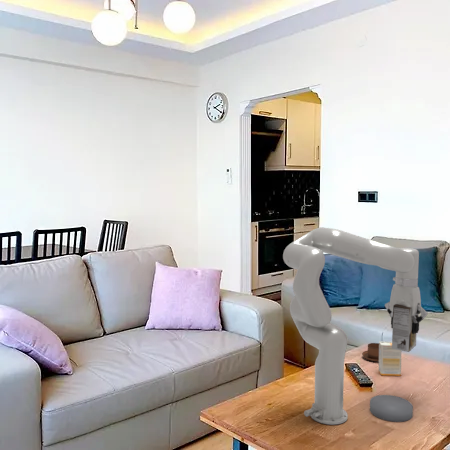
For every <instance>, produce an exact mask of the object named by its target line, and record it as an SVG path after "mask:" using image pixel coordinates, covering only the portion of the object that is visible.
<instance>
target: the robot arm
mask: <svg viewBox="0 0 450 450" xmlns="http://www.w3.org/2000/svg"><path fill="white" fill-rule="evenodd" d="M324 253H325V254H329V255H332V256H336V257H339V258H343V259H347V260H349V261H353V262H356V263H359V264H360V263H361V264H365V265H368V266H376V267H379V268H381V269H384V270H389V271H393V272H395V277H394V276H393V278H392V281H394V282H395V283H394V284H393V286H392V288H391V294H390V299H389V301H388V302H385V303H384V307H385V309H386V310H387V313H388V315H389V317H390V318H391V319H390V325H391V326H390V328H391V329H393V305H395V304H398V305H403V306H406V307H410V308H412V310H411V316H412V319H413V321H414V322H413V323H412V334H415V333H416V334H418V333H419V331H420V323H421V321H423V320H424V319H425V318H426V316H428V312H427V311H426V310H425V309H424V308H423V307H422V303H421V302H422V299H421V290H420V287H419V285H418V283H419V264H420V263H419V261H420V259H419V258H420V256H419V255H420V251H419V250H418V249H416V248H412V247H400V248H398V247H396V246H392V245H389V244H386V243H385V244H384V243H382V242H379V241H375V240H372V239H369V238H366V237H362V236H359V235H356V234H353V233H350V232H347V231H344V230H341V229H336V228H331V227H317V228H314V229H312V230H310V231H309V232H307V233H305V234H304V235H302V236H301V237H299V238H297V239H295V240H293V241H292V242H291V243H289V244H288V245H287V246H286V247H285V249H284V250H283V254H282V259H283V262H284V264H286V265H287V266H288V267H289V268H291V269H295V270H296V274H295V276H294V279H293V282H292V290H293V293H294V296H293V297H292V298H291V300H290V303H289V314H290V316H291V318H292V320H293V322H294V325H295V326H296V328H297V330H298V332H299V334H300V337H302V339H303V340H304V341H305V342H306V343H307V344H308V345H310V346H312V347H314V348H316V349H317V350H318V354H317V357H316V359H315V362H314V403H312V405H311V408H309V409H306V410H304V412H303V415H304V416H305V417H310V418H311V419H312V420H313V421H315V422H318V423H320V424H324V425H329V426H330V425H341V424H343V423H345V422H346V421H347V420H348V419H349V418H348V417H349V416H348V412H347V411H346V410H345V409H344V387H345V386H344V382H345V380H344V379H345V378H344V376H345V371H344V370H345V359H346V358H345V357H346V352H347V347H348V337H347V333H346V332H345V330H343V329H342V328H341V327H339V326H337V324H333V323H331V321H332V318H333V317H332V310H331V307H330V305H329V304H328V302H327V300H326V297H325V295H324V293H323V291H322V289H321V286H320V282H319V281H320V276H321V273H322V271H323V270H324V267H325V264H326V258H325V257H326V256H325V254H324Z"/></svg>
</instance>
